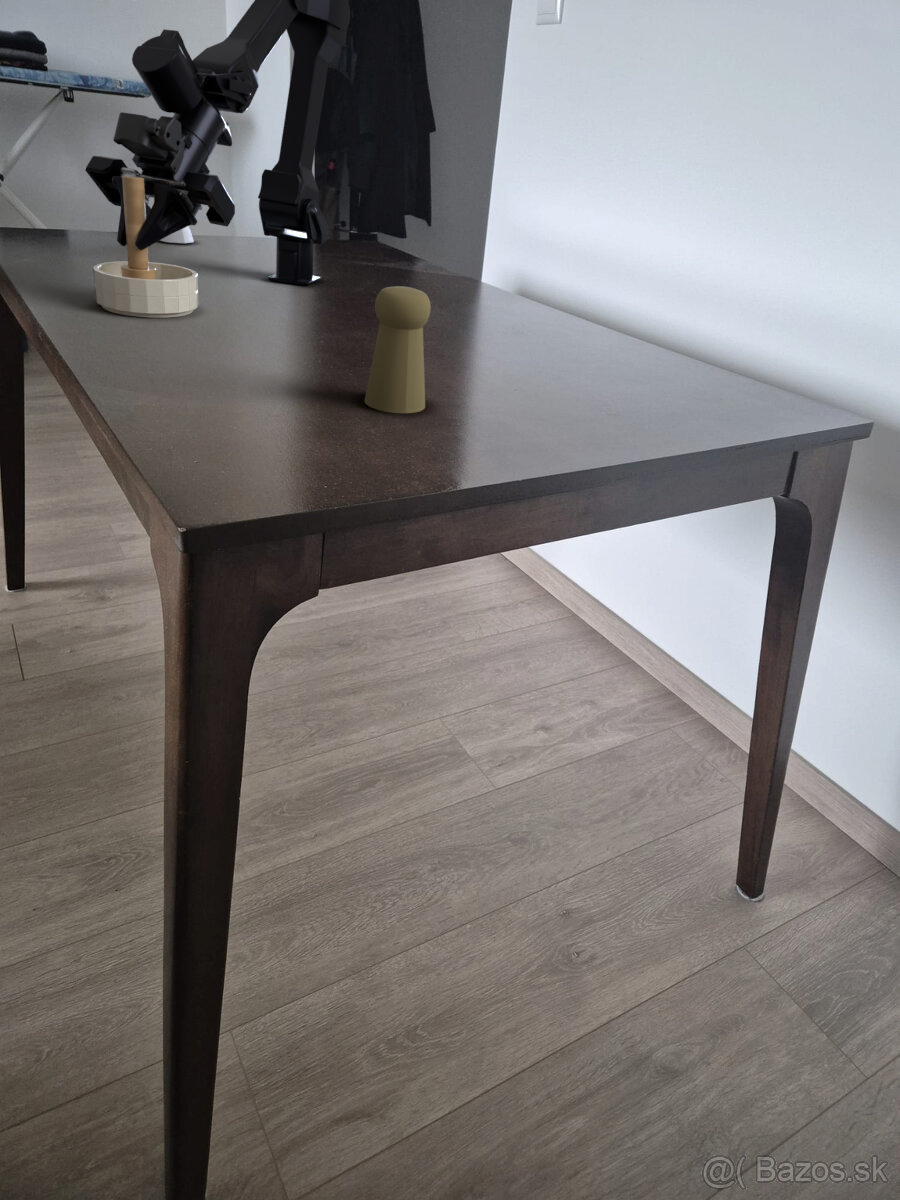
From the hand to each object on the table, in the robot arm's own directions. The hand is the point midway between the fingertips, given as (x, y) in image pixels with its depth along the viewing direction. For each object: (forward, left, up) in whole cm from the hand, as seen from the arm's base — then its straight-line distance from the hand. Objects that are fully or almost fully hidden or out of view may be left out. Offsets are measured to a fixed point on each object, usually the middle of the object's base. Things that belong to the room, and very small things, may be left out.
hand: (129, 245), depth 104 cm
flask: (-55, -22, -8) cm, 60 cm away
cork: (+20, +38, -8) cm, 44 cm away
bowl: (-3, 0, -8) cm, 8 cm away
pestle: (-1, 0, -7) cm, 7 cm away
